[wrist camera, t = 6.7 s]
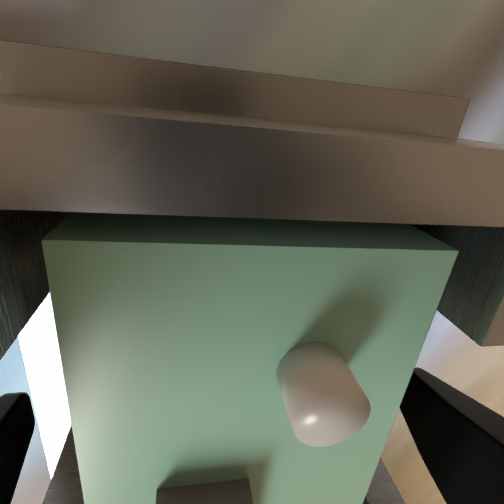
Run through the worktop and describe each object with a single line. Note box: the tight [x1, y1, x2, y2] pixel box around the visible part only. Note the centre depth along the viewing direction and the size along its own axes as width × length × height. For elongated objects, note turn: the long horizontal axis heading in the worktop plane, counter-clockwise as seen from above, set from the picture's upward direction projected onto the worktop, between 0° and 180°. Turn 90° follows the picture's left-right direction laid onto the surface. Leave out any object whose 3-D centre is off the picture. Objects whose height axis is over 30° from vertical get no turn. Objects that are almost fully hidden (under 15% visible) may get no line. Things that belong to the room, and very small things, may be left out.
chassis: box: [0, 40, 504, 504], centre depth 8 cm, size 14×11×5 cm
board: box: [41, 212, 459, 504], centre depth 7 cm, size 9×6×2 cm, turn 174°
